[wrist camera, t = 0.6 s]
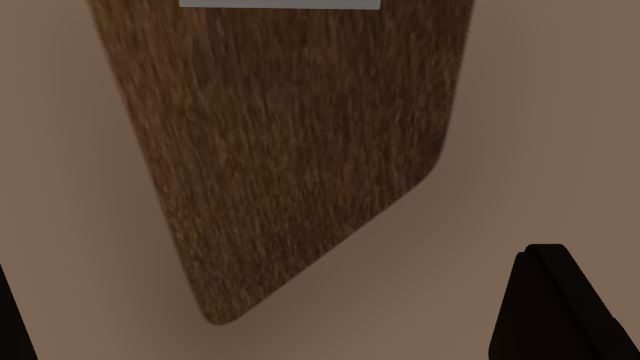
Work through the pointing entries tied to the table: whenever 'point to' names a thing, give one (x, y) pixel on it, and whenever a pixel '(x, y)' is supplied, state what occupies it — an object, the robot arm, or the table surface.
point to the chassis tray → (285, 4)
